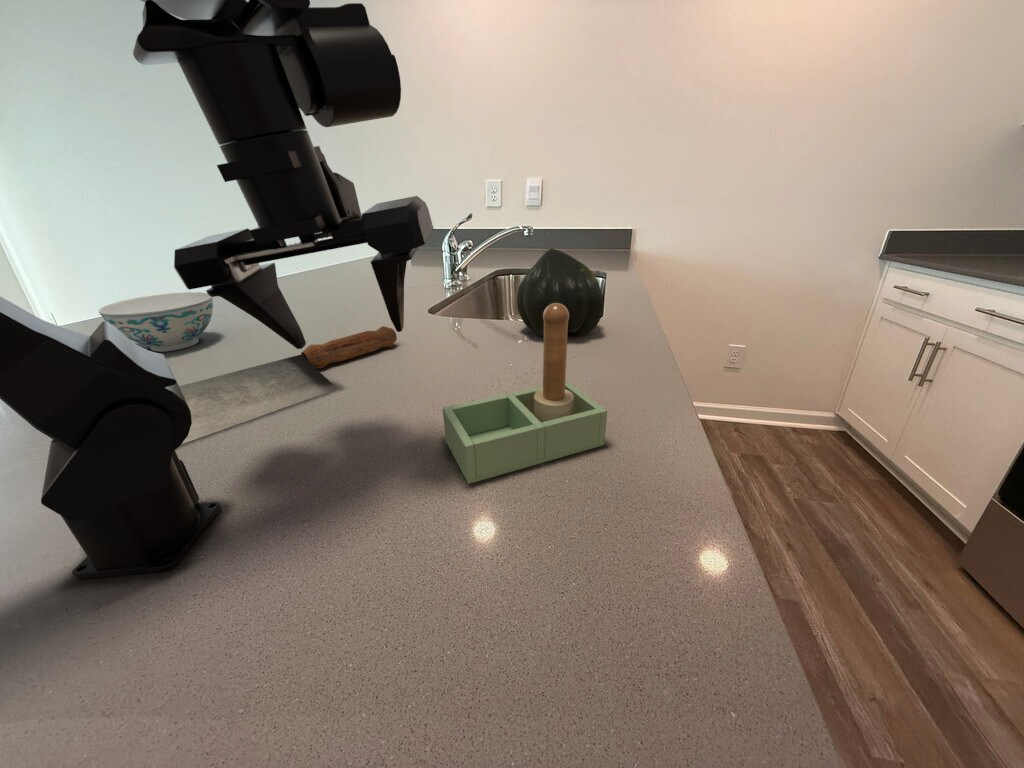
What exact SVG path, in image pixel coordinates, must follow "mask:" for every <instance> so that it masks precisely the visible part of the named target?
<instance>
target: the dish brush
mask: <svg viewBox="0 0 1024 768" xmlns="http://www.w3.org/2000/svg"><path fill="white" fill-rule="evenodd" d="M543 320H544V336H543V348H542V349H543V351H542V352H543V353H542V355H543V356H542V359H543V360H542V361H543V362H542V386H543V389H540V390H538V391H537V392H536V393H535V394H534V416H535V417H536V418H537V419H538V420H539V421H540V422H541V423H542V422H545V421H549V420H553V419H557V418H561V417H566V416H570V415H573V404H574V395H573V394H572V393H571V392H570V391H568V390H566V389H565V382H566V379H567V378H566V376H567V355H568V354H567V353H568V352H567V351H568V331H567V330H568V320H569V312H568V310H567V308H566V307H565V306H564V305H562V304H560V303H552V304H550V305H548V306H547V307H546V308H545V310H544V312H543Z"/></svg>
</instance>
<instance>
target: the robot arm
mask: <svg viewBox="0 0 1024 768" xmlns="http://www.w3.org/2000/svg"><path fill="white" fill-rule="evenodd" d="M140 2H144V5H143V9H142V29H141V30H140V32H139V33H138V35H137V37H136V39H135V43H134V48H133V50H132V55H133V58H134V59H135V61H137V62H138V63H139V64H141V65H144V66H152V65H168V64H178V65H179V67H180V69H181V71H182V73H183V75H184V78H185V79H186V81H187V83H188V85H189V87H190V89H191V92H192V94H193V96H194V98H195V100H196V101H197V104H198V106H199V108H200V110H201V112H202V114H203V116H204V118H205V121H206V122H207V124H208V126H209V128H210V130H211V132H212V134H213V137H214V139H215V141H216V142H217V144H218V146H219V149H220V151H221V153H222V155H223V157H224V159H225V161H226V163H221V164H216V167H217V169H218V171H219V173H220V175H221V177H222V179H223V181H224V183H227V182H233V181H236V184H237V186H238V187H239V190H240V192H241V194H242V195H243V198H244V200H245V202H246V204H247V206H248V208H249V210H250V212H251V215H252V216H253V219H254V220H255V223H256V224H257V226H256V227H253V228H251V229H249V228H243V229H238V230H232V231H228V232H221V233H217V234H212V235H207V236H205V237H203V238H201V239H198V240H195V241H193V242H190V243H189V244H186V245H183V246H181V247H179V248H176V249H174V260H173V269H174V270H175V272H176V273H177V275H178V276H179V278H180V280H181V281H182V283H183V284H184V286H185V288H186V289H187V290H189V291H190V290H195V289H200V288H206V287H209V288H207V289H206V290H205V293H208V295H209V296H210V297H212V298H214V297H219V298H222V299H224V300H225V301H227V302H228V303H229V304H232V305H233V306H234V307H236V308H238V309H239V310H242V311H243V312H244V313H246V314H248V315H249V316H251V317H253V318H254V319H256V320H257V321H258V322H260V323H261V324H263V325H264V326H265V327H267V328H268V329H269V330H270V331H272V332H274V333H275V334H276V335H278V336H279V337H281V338H282V339H283V340H284V341H286V342H287V343H288V344H290V345H291V346H293V347H294V348H295V349H297V350H302V349H303V348H304V347H305V346H306V345H307V342H306V338H305V336H304V334H303V331H302V329H301V326H300V324H299V322H298V321H297V319H296V317H295V315H294V313H293V311H292V309H291V307H290V306H289V304H288V302H287V299H286V298H285V296H284V295H283V292H282V290H281V289H280V286H279V282H278V277H277V267H276V263H275V262H272V261H278V260H283V259H288V258H293V257H298V256H304V255H309V254H315V253H320V252H326V251H331V250H336V249H340V248H346V247H352V246H358V245H362V244H367V246H369V247H370V248H372V249H373V250H374V251H376V252H377V253H376V254H375V256H374V257H373V258H372V259H371V260H370V265H371V267H372V270H373V274H374V276H375V279H376V282H377V284H378V287H379V290H380V293H381V297H382V299H383V302H384V304H385V308H386V311H387V313H388V316H389V319H390V321H391V323H392V325H393V327H394V328H395V329H394V330H395V331H396V332H397V333H400V332H401V333H402V332H403V329H404V326H405V325H404V324H405V278H406V277H405V276H406V270H407V264H408V262H409V261H411V260H412V259H413V257H414V255H415V254H416V252H417V251H418V249H419V247H422V246H425V245H426V243H427V242H428V240H429V238H430V237H431V235H432V233H433V231H434V224H433V221H432V217H431V213H430V210H429V207H428V205H427V203H426V201H424V200H423V199H422V198H421V197H420V196H418V195H413V196H408V197H403V198H398V199H392V200H388V201H383V202H377V203H375V204H374V205H372V206H371V207H369V208H368V209H366V210H365V211H364V212H361V208H360V204H359V199H358V195H357V191H356V187H355V183H354V182H353V181H351V180H349V179H348V178H347V177H345V176H343V175H342V174H340V173H337V172H333V170H332V169H331V167H330V166H329V164H328V161H327V159H326V156H325V154H324V153H323V152H322V150H321V147H320V145H317V146H314V144H313V142H312V139H311V136H310V134H309V131H308V130H307V126H306V123H305V120H304V118H303V115H304V116H305V117H310V116H312V118H313V120H315V121H316V123H318V124H319V125H320V126H321V127H324V128H332V127H337V126H343V125H350V124H356V123H362V122H369V121H374V120H379V119H385V118H391V117H394V116H395V115H396V114H397V113H398V110H399V108H400V104H401V99H402V83H401V75H400V70H399V65H398V62H397V58H396V56H395V54H392V52H391V49H390V46H389V45H388V43H387V41H386V39H385V37H384V36H383V34H382V33H381V32H380V31H379V29H377V28H376V27H374V26H373V25H372V24H370V23H371V22H370V20H369V16H368V12H367V9H366V5H364V4H363V3H360V2H359V3H358V2H355V3H354V2H353V3H351V2H349V3H348V2H347V3H345V4H341V5H340V6H323V7H322V6H315V7H314V6H313V7H311V0H248V1H247V0H140ZM302 113H303V115H302ZM294 238H298V239H299V242H294V243H289V244H287V242H286V240H288V239H294ZM266 262H270V263H266ZM261 263H265V264H261ZM179 386H180V385H179V383H178V380H177V379H176V378H175V376H174V373H173V371H172V369H171V367H170V364H169V363H168V360H167V359H166V356H165V355H164V354H163V353H160V352H156V351H152V350H148V349H146V348H144V347H142V346H140V345H138V344H137V343H136V342H135V341H132V340H130V339H128V338H127V337H126V336H125V335H124V334H123V333H121V332H120V331H119V330H118V329H117V328H115V327H114V326H113V325H112V324H110V323H109V322H107V321H105V320H103V321H101V323H99V325H98V326H97V328H96V329H95V330H94V331H93V332H92V333H91V335H88V334H86V333H82V332H79V331H76V330H72V329H69V328H66V327H63V326H60V325H57V324H54V323H51V322H49V321H46V320H45V319H42V318H40V317H38V316H36V315H34V314H33V313H30V312H29V311H27V310H25V309H24V308H22V307H20V306H19V305H17V304H15V303H13V302H11V301H10V300H8V299H6V298H5V297H3V296H1V295H0V400H1V401H2V402H3V403H4V404H5V405H7V407H9V408H10V409H12V410H13V411H14V412H15V413H16V414H17V415H19V416H20V417H21V419H23V420H24V421H26V422H27V423H28V424H29V425H30V426H32V427H33V428H34V429H35V430H37V431H38V432H40V433H42V434H43V435H45V436H47V437H48V438H50V439H51V441H50V446H49V449H48V451H49V452H48V458H47V463H46V468H45V474H44V475H45V476H44V481H43V486H42V492H41V496H40V497H41V498H40V503H41V505H42V506H44V507H46V509H47V508H48V509H49V510H51V511H53V512H55V513H56V514H58V515H60V517H61V518H62V520H63V521H64V523H65V524H66V526H67V527H68V529H69V530H70V532H71V534H72V535H73V536H74V539H75V540H76V541H77V543H78V545H79V546H80V548H81V549H82V550H83V553H85V555H86V557H85V558H84V559H83V560H82V561H81V562H80V563H79V564H78V565H77V566H75V567H74V568H73V570H72V571H71V575H72V576H73V578H74V579H77V580H81V579H92V578H103V577H112V576H113V577H116V576H123V575H125V576H126V575H137V574H148V573H157V572H158V573H160V572H167V571H169V570H172V569H173V568H175V567H176V566H177V565H178V564H179V563H180V561H181V560H182V559H183V557H185V555H186V554H187V552H188V551H189V550H190V548H191V547H192V546H193V545H194V544H195V542H196V541H197V539H199V537H200V536H201V535H202V533H203V532H204V531H205V530H206V528H207V527H208V526H209V524H210V523H211V522H212V521H213V519H214V518H215V517H216V516H217V514H218V513H219V511H221V509H222V505H221V503H220V502H219V501H208V502H206V501H205V502H199V501H200V497H199V494H198V492H197V490H196V488H195V486H194V484H193V481H192V479H191V476H190V475H189V472H188V470H187V468H186V465H185V462H184V461H183V460H182V459H180V458H179V456H178V454H177V451H176V450H177V449H179V448H180V447H181V446H182V445H183V444H184V443H183V441H184V440H185V439H186V437H187V436H188V434H189V431H190V428H191V424H192V420H191V411H190V409H189V406H188V404H187V402H186V400H185V398H184V396H183V394H182V391H181V389H180V387H179ZM182 443H183V444H182Z"/></svg>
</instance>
